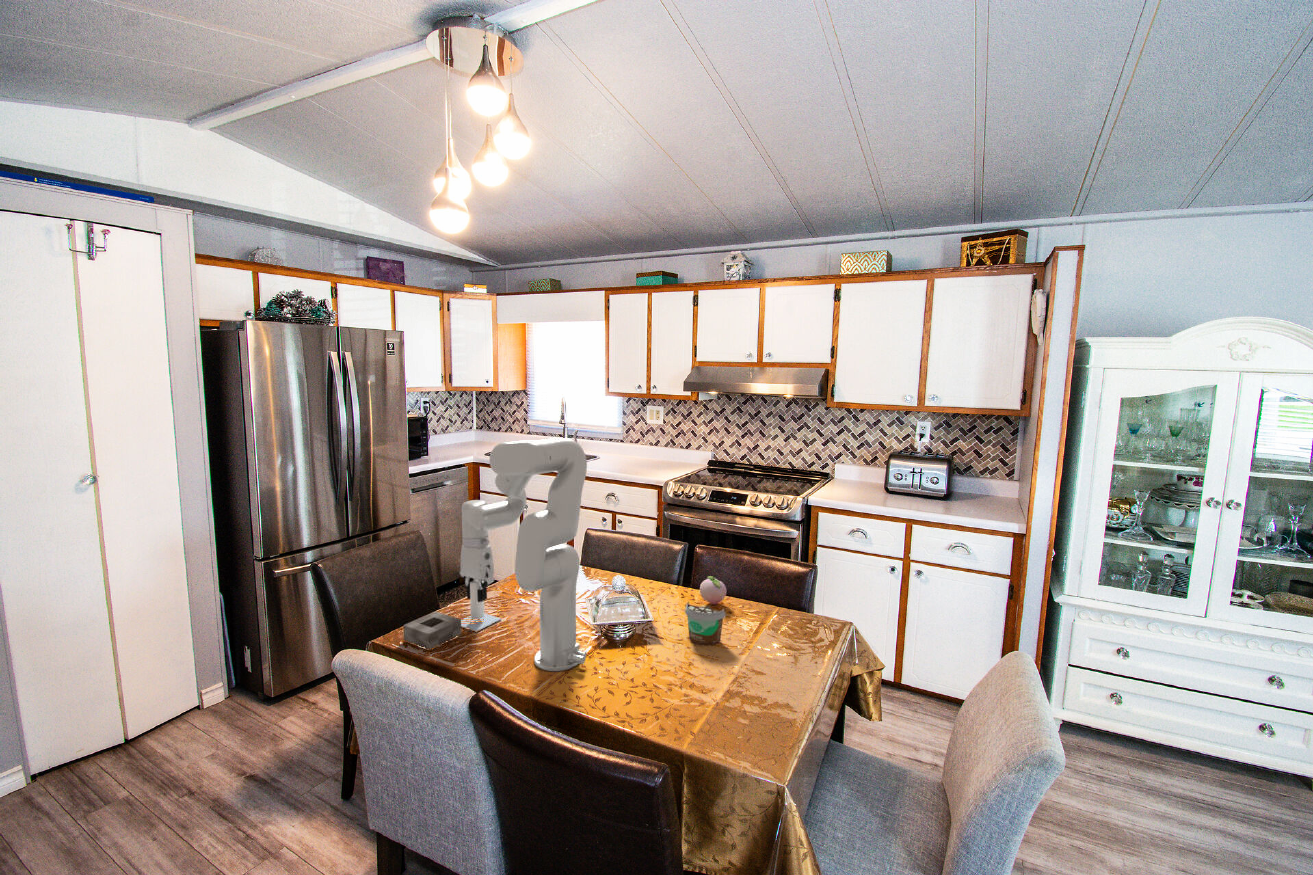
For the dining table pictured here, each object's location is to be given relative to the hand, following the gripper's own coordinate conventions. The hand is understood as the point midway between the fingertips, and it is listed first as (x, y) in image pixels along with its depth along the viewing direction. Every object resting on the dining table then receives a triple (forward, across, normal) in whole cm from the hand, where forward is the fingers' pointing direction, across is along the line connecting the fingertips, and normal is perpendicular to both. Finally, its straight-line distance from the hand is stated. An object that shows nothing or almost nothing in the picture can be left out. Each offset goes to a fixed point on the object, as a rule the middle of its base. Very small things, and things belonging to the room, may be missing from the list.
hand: (477, 598), depth 171 cm
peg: (+6, 0, 0) cm, 6 cm away
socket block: (+8, +3, +14) cm, 16 cm away
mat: (+8, 0, 0) cm, 8 cm away
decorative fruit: (+8, -57, -50) cm, 76 cm away
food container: (+8, -65, -24) cm, 70 cm away
